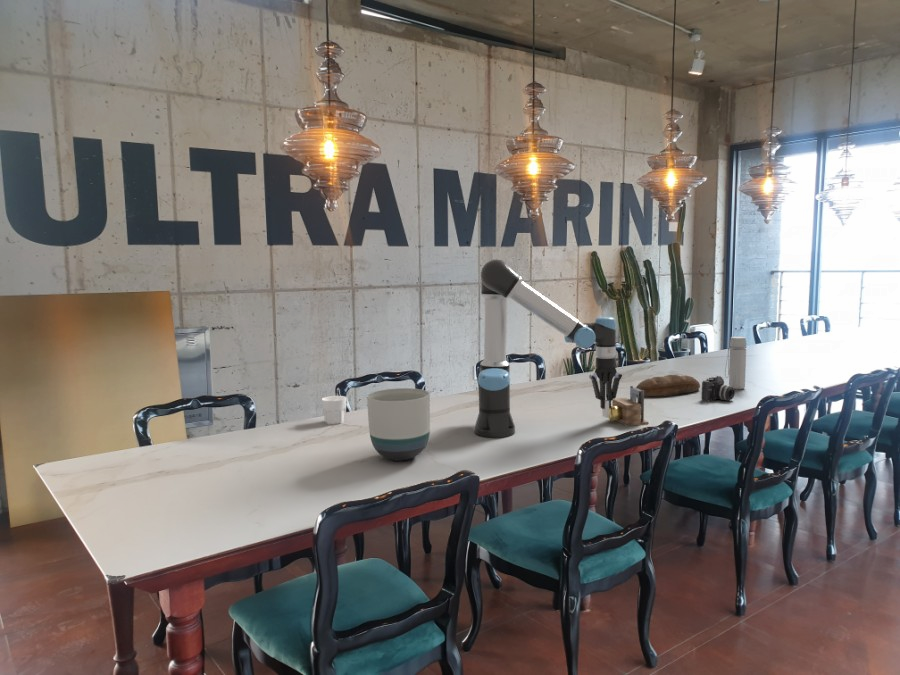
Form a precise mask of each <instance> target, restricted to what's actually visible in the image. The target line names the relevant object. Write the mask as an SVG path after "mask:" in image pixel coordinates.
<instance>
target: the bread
mask: <svg viewBox="0 0 900 675" xmlns="http://www.w3.org/2000/svg"><path fill="white" fill-rule="evenodd" d="M700 387H701V384H700V382H699V381H698V380H697V379H695V378H694V377H693V376H690V375H677V374H667V375H663V376H654V377H652V378H647V379H645V380H643V381H641V382H639V383H638V384H637V386H635V388H638V389H640V390H644V398H649V397H650V398H652V397H653V398H654V397H658V398H659V397H670V396H671V397H672V396H677V395H678V396H679V395H686V394H689V393H693V392H696V391H698V390H700V389H701V388H700ZM636 396H638V395H637V394H636Z"/></svg>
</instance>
